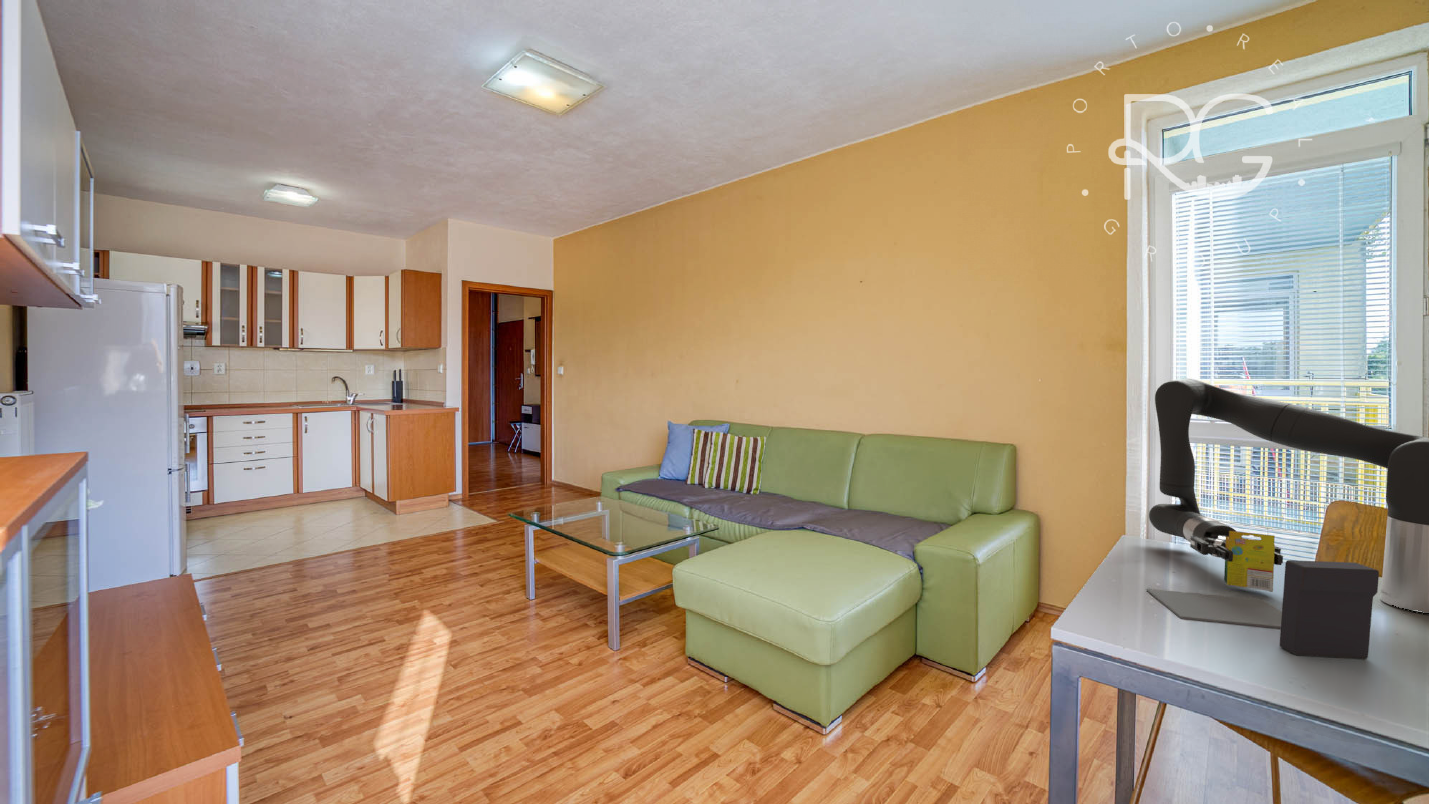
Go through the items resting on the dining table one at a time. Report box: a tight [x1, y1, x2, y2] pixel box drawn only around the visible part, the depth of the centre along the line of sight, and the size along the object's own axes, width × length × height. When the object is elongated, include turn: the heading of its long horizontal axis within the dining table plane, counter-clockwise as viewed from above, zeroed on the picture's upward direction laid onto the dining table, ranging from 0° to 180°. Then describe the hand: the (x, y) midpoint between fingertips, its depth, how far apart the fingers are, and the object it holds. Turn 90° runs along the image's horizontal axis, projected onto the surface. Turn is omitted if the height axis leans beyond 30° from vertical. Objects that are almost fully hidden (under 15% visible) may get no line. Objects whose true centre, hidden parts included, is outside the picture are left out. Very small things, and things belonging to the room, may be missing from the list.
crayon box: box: [1223, 530, 1276, 593], centre depth 122 cm, size 7×3×12 cm, turn 58°
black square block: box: [1279, 559, 1380, 660], centre depth 96 cm, size 11×4×15 cm, turn 84°
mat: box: [1145, 588, 1282, 630], centre depth 113 cm, size 20×14×1 cm
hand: (1255, 558), depth 120 cm, fingers closed on crayon box, 8 cm apart
